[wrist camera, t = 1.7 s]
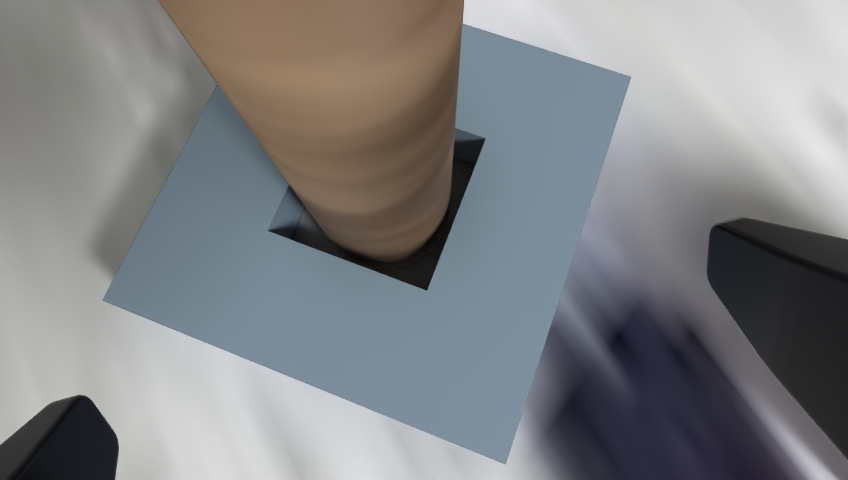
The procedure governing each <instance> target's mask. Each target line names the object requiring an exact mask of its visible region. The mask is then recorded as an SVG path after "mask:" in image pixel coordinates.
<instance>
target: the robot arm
mask: <svg viewBox="0 0 848 480" xmlns="http://www.w3.org/2000/svg"><path fill="white" fill-rule="evenodd" d="M707 276H708V280H709V283H710V285H711V287H712V288H713V290H714V291H715V293H716V294H717V296H718V297H719V299H720V300H721V301H722V303H723V304H724V306H725V307H726V308H727V310H728V311H729V313H730V314H731V316H732V317H733V318H734V320H735V321H736V323H737V324H738V326H739V327H740V328H741V330H742V331H743V333H744V334H745V336H746V337H747V338H748V340H749V341H750V343H751V344H752V345H753V347H754V348H755V350H756V351H757V353H758V354H759V355H760V357H761V358H762V359H763V361H764V362H765V363H766V365H767V366H768V367H769V369H770V370H771V371H772V373H773V374H774V375H775V376H776V377H777V379H778V380H779V381H780V382H781V383H782V385H783V386H784V387H785V388H786V389H787V390H788V392H789V393H790V394H791V395H792V396H793V397H794V398H795V400H796V401H797V402H798V403H799V404H800V405H801V406H802V408H803V409H804V410H805V411H806V412H807V413H808V414H809V416H810V417H811V418H812V419H813V420H814V421H815V422H816V424H817V425H818V426H819V427H820V428H821V429H822V430H823V432H824V433H825V434H826V435H827V436H828V437H829V439H830V440H831V441H832V442H833V443H834V444H835V445H836V447H837V448H838V449H839V450H840V451H841V452H842V453H843V455H844V456H845V457H846V458H847V459H848V240H847V239H842V238H838V237H833V236H829V235H824V234H819V233H815V232H810V231H806V230H801V229H796V228H792V227H787V226H782V225H778V224H773V223H769V222H764V221H759V220H755V219H750V218H745V217H739V218H735V219H731V220H727V221H724V222H720V223H717V224H715V225H714V226H713V227H712V229H711V231H710V235H709V248H708V261H707ZM118 453H119V445H118V439H117V437H116V434H115V432H114V431H113V429H112V428H111V426H110V425H109V424H108V422H107V421H106V419H105V418H104V417H103V415H102V414H101V413H100V411H99V410H98V408H97V407H96V406H95V404H94V403H93V401H92V400H91V399H90V398H88V397H87V396H84V395H77V396H73V397H69V398H65V399H62V400H58V401H55V402H52V403H50V404H49V405H47V406H46V407H45V408H44V409H42V410H41V411H40V412H39V413H38V414H37V415H35V416H34V417H33V418H32V419H31V420H29V421H28V422H27V423H26V424H25V425H24V426H22V427H21V428H20V429H19V430H18V431H16V432H15V433H14V434H13V435H12V436H11V437H9V438H8V439H7V440H6V441H5V442H3V443H2V444H1V445H0V480H115V477H116V469H117V461H118Z"/></svg>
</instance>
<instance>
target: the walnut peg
mask: <svg viewBox="0 0 848 480" xmlns="http://www.w3.org/2000/svg"><path fill="white" fill-rule="evenodd" d="M158 1H159V3H160V4H161V6H162V7H163V8H164V10H165V11H166V13H167V14H168V15H169V17H170V18H171V20H172V21H173V22H174V24H175V25H176V27H177V28H178V29H179V31H180V32H181V34H182V35H183V36H184V38H185V39H186V41H187V42H188V43H189V45H190V46H191V48H192V49H193V50H194V52H195V53H196V55H197V56H198V57H199V59H200V60H201V62H202V63H203V64H204V66H205V67H206V69H207V70H208V71H209V73H210V74H211V76H212V77H213V78H214V80H215V81H216V83H217V84H218V85H219V87H220V88H221V90H222V91H223V92H224V94H225V95H226V97H227V98H228V99H229V101H230V102H231V104H232V105H233V106H234V108H235V109H236V110H237V112H238V113H239V115H240V116H241V117H242V119H243V120H244V122H245V123H246V124H247V126H248V127H249V129H250V130H251V131H252V133H253V134H254V136H255V137H256V138H257V140H258V141H259V143H260V144H261V145H262V147H263V148H264V150H265V151H266V152H267V154H268V155H269V157H270V158H271V159H272V161H273V162H274V164H275V165H276V166H277V168H278V169H279V171H280V172H281V173H282V175H283V176H284V178H285V179H286V180H287V182H288V183H289V185H290V186H291V187H292V189H293V190H294V192H295V193H296V194H297V196H298V197H299V199H300V200H301V201H302V203H303V204H304V206H305V207H306V208H307V210H308V211H309V213H310V214H311V215H312V217H313V218H314V220H315V221H316V222H317V224H318V225H319V227H320V228H321V229H322V231H323V232H324V234H325V235H326V236H327V238H328V239H329V241H330V242H331V243H332V245H333V246H334V247H335V248H336V249H337V251H338V252H339V253H341V254H342V255H343V256H344V257H345V258H347V259H348V260H350V261H352V262H353V263H356V264H358V265H360V266H363V267H367V268H371V269H377V270H389V269H396V268H401V267H404V266H407V265H410V264H412V263H414V262H416V261H418V260H419V259H421V258H422V257H424V256H425V255H426V254H428V253H429V252H430V251H431V250H432V249H433V248H434V246H435V245H436V244H437V243H438V241H439V240H440V238H441V237H442V235H443V233H444V231H445V228H446V225H447V222H448V217H449V208H450V194H451V180H452V165H453V151H454V137H455V122H456V108H457V94H458V80H459V65H460V51H461V37H462V22H463V8H464V0H158Z"/></svg>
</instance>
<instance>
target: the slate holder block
mask: <svg viewBox="0 0 848 480" xmlns="http://www.w3.org/2000/svg"><path fill="white" fill-rule="evenodd" d="M630 79H631V77H630V76H627V75H624V74H620V73H617V72H614V71H611V70H608V69H605V68H601V67H598V66H595V65H592V64H589V63H586V62H582V61H579V60H576V59H573V58H570V57H567V56H563V55H560V54H557V53H554V52H551V51H547V50H544V49H541V48H538V47H535V46H532V45H528V44H525V43H522V42H519V41H516V40H513V39H509V38H506V37H503V36H500V35H497V34H494V33H490V32H487V31H484V30H481V29H478V28H475V27H471V26H468V25H465V24H462V37H461V51H460V65H459V80H458V94H457V108H456V122H455V137H454V151H453V157H456V158H459V159H462V160H465V161H468V162H470V163H473V164H476V165H475V168H474V171H473V173H472V176H471V178H470V181H469V183H468V186H467V189H466V191H465V194H464V196H463V199H462V202H461V204H460V207H459V209H458V212H457V215H456V217H455V220H454V222H453V225H452V228H451V230H450V233H449V235H448V238H447V240H446V243H445V246H444V248H443V251H442V253H441V256H440V259H439V261H438V264H437V266H436V269H435V272H434V274H433V277H432V279H431V282H430V285H429V287H428V290H427V291H426V290H424V289H421V288H418V287H416V286H413V285H410V284H408V283H405V282H402V281H400V280H397V279H394V278H392V277H389V276H386V275H384V274H381V273H378V272H376V271H373V270H370V269H368V268H365V267H362V266H360V265H357V264H354V263H352V262H349V261H346V260H344V259H341V258H338V257H336V256H333V255H330V254H328V253H325V252H322V251H320V250H317V249H315V248H312V247H309V246H307V245H304V244H301V243H299V242H296V241H293V240H291V238H292V236H293V233H294V231H295V229H296V227H297V225H298V223H299V220H300V218H301V216H302V214H303V212H304V209H305V206H304V204H303V203H302V201H301V200H300V199H299V197H298V196H297V194H296V193H295V192H294V190H293V189H292V187H291V186H290V185H289V183H288V182H287V180H286V179H285V178H284V176H283V175H282V173H281V172H280V171H279V169H278V168H277V166H276V165H275V164H274V162H273V161H272V159H271V158H270V157H269V155H268V154H267V152H266V151H265V150H264V148H263V147H262V145H261V144H260V143H259V141H258V140H257V138H256V137H255V136H254V134H253V133H252V131H251V130H250V129H249V127H248V126H247V124H246V123H245V122H244V120H243V119H242V117H241V116H240V115H239V113H238V112H237V110H236V109H235V108H234V106H233V105H232V104H231V102H230V101H229V99H228V98H227V97H226V95H225V94H224V92H223V91H222V90H221V88H220V87H219V85H218V84H217V86H216V88H215V90H214V92H213V94H212V95H211V97H210V99H209V101H208V103H207V105H206V107H205V109H204V110H203V112H202V114H201V116H200V118H199V120H198V122H197V124H196V125H195V127H194V129H193V131H192V133H191V135H190V137H189V139H188V140H187V142H186V144H185V146H184V148H183V150H182V152H181V154H180V155H179V157H178V159H177V161H176V163H175V165H174V167H173V169H172V171H171V172H170V174H169V176H168V178H167V180H166V182H165V184H164V186H163V187H162V189H161V191H160V193H159V195H158V197H157V199H156V201H155V202H154V204H153V206H152V208H151V210H150V212H149V214H148V216H147V217H146V219H145V221H144V223H143V225H142V227H141V229H140V231H139V232H138V234H137V236H136V238H135V240H134V242H133V244H132V246H131V247H130V249H129V251H128V253H127V255H126V257H125V259H124V261H123V262H122V264H121V266H120V268H119V270H118V272H117V274H116V276H115V277H114V279H113V281H112V283H111V285H110V287H109V289H108V291H107V292H106V294H105V296H104V298H103V300H102V301H105V302H107V303H110V304H112V305H115V306H117V307H120V308H122V309H125V310H127V311H130V312H132V313H134V314H137V315H139V316H142V317H144V318H147V319H149V320H152V321H154V322H157V323H159V324H161V325H164V326H166V327H169V328H171V329H174V330H176V331H179V332H181V333H184V334H186V335H189V336H191V337H193V338H196V339H198V340H201V341H203V342H206V343H208V344H211V345H213V346H216V347H218V348H221V349H223V350H225V351H228V352H230V353H233V354H235V355H238V356H240V357H243V358H245V359H248V360H250V361H252V362H255V363H257V364H260V365H262V366H265V367H267V368H270V369H272V370H275V371H277V372H280V373H282V374H284V375H287V376H289V377H292V378H294V379H297V380H299V381H302V382H304V383H307V384H309V385H311V386H314V387H316V388H319V389H321V390H324V391H326V392H329V393H331V394H334V395H336V396H339V397H341V398H343V399H346V400H348V401H351V402H353V403H356V404H358V405H361V406H363V407H366V408H368V409H371V410H373V411H375V412H378V413H380V414H383V415H385V416H388V417H390V418H393V419H395V420H398V421H400V422H402V423H405V424H407V425H410V426H412V427H415V428H417V429H420V430H422V431H425V432H427V433H430V434H432V435H434V436H437V437H439V438H442V439H444V440H447V441H449V442H452V443H454V444H457V445H459V446H461V447H464V448H466V449H469V450H471V451H474V452H476V453H479V454H481V455H484V456H486V457H489V458H491V459H493V460H496V461H498V462H501V463H503V464H506V462H507V459H508V456H509V452H510V449H511V446H512V443H513V440H514V437H515V434H516V431H517V428H518V425H519V422H520V418H521V415H522V412H523V409H524V406H525V403H526V400H527V397H528V394H529V391H530V388H531V385H532V381H533V378H534V375H535V372H536V369H537V366H538V363H539V360H540V357H541V354H542V351H543V348H544V344H545V341H546V338H547V335H548V332H549V329H550V326H551V323H552V320H553V317H554V314H555V310H556V307H557V304H558V301H559V298H560V295H561V292H562V289H563V286H564V283H565V280H566V277H567V273H568V270H569V267H570V264H571V261H572V258H573V255H574V252H575V249H576V246H577V243H578V240H579V236H580V233H581V230H582V227H583V224H584V221H585V218H586V215H587V212H588V209H589V206H590V202H591V199H592V196H593V193H594V190H595V187H596V184H597V181H598V178H599V175H600V172H601V169H602V165H603V162H604V159H605V156H606V153H607V150H608V147H609V144H610V141H611V138H612V135H613V132H614V128H615V125H616V122H617V119H618V116H619V113H620V110H621V107H622V104H623V101H624V98H625V94H626V91H627V88H628V85H629V82H630Z"/></svg>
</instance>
